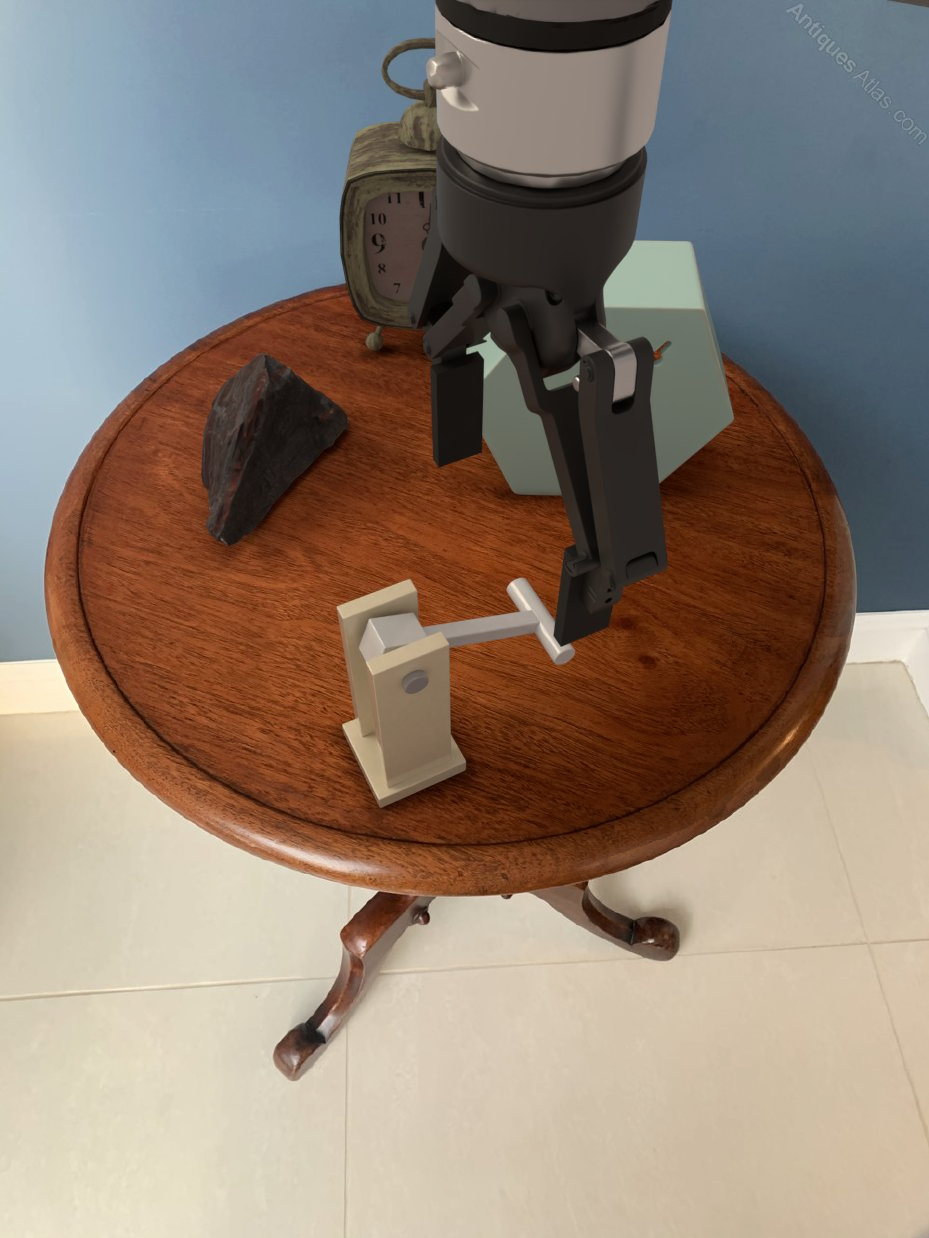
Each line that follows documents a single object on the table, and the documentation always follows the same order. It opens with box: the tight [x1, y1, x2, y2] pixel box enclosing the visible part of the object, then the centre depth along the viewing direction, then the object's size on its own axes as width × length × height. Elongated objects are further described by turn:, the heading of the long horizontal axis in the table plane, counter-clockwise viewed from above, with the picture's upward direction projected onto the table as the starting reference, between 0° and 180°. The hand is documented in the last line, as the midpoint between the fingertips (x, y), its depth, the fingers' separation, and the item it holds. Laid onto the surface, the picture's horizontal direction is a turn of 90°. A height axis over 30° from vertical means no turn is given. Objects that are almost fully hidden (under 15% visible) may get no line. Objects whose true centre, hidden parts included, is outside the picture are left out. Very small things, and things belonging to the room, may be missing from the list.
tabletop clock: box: [338, 37, 442, 352], centre depth 79 cm, size 14×9×25 cm, turn 89°
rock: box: [200, 352, 351, 547], centre depth 74 cm, size 7×18×9 cm, turn 152°
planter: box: [466, 239, 735, 497], centre depth 72 cm, size 17×8×21 cm
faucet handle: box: [359, 577, 576, 666], centre depth 56 cm, size 12×6×2 cm, turn 117°
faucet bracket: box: [336, 578, 467, 809], centre depth 57 cm, size 6×6×14 cm
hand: (514, 538), depth 51 cm, fingers open, 13 cm apart
